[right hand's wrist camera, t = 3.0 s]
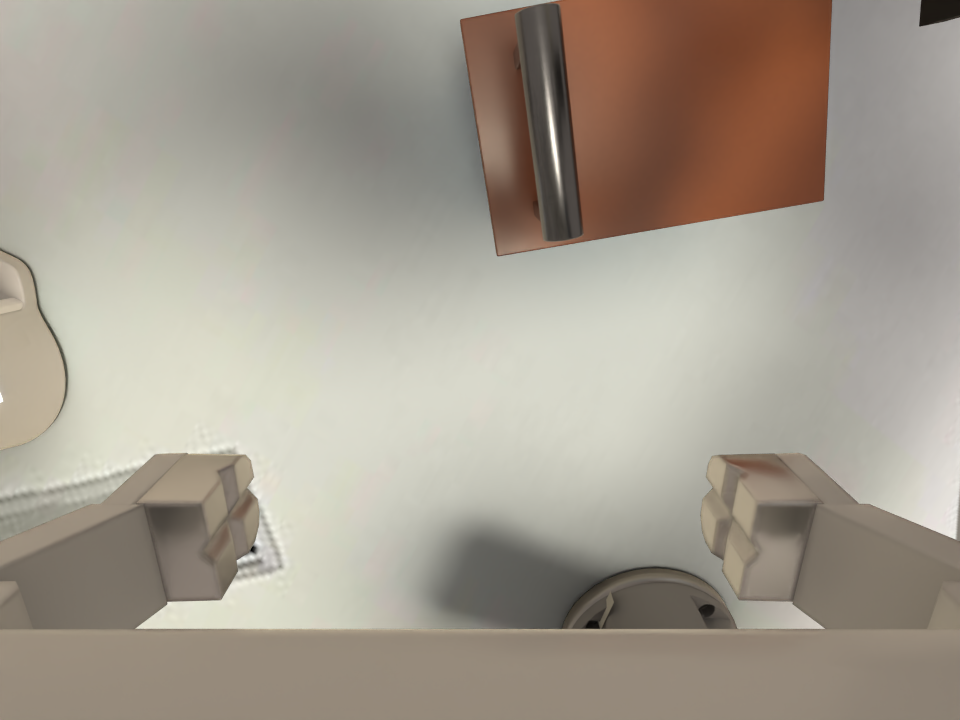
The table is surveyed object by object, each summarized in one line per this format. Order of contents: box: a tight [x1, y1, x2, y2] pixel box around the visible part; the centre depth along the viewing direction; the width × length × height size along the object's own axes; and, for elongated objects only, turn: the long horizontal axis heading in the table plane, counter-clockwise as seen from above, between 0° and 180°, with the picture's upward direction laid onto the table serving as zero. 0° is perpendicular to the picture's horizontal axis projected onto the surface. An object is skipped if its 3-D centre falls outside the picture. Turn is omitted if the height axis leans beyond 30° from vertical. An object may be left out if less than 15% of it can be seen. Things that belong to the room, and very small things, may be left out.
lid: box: [460, 0, 832, 256], centre depth 22 cm, size 15×10×8 cm, turn 100°
